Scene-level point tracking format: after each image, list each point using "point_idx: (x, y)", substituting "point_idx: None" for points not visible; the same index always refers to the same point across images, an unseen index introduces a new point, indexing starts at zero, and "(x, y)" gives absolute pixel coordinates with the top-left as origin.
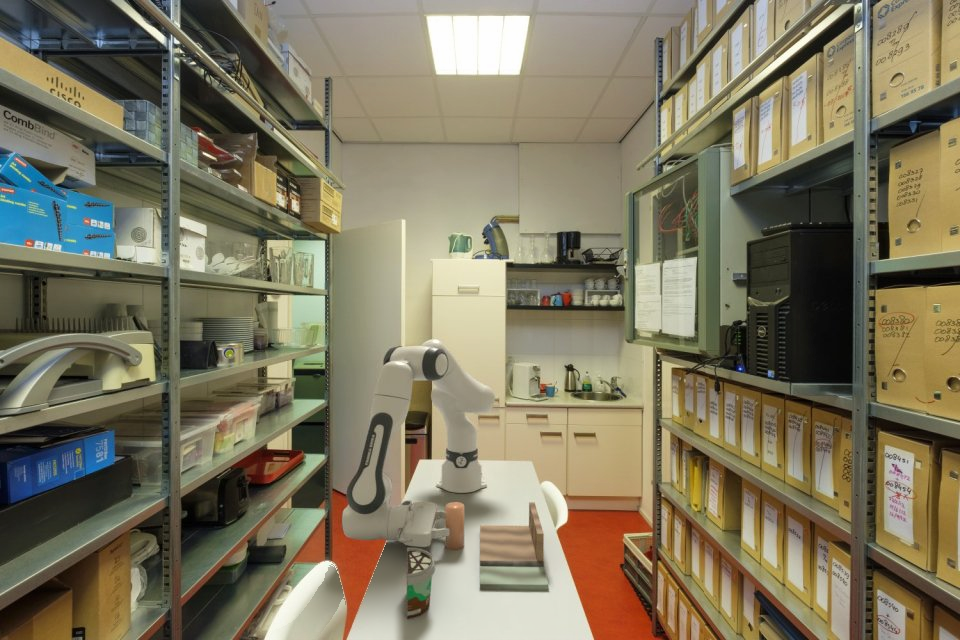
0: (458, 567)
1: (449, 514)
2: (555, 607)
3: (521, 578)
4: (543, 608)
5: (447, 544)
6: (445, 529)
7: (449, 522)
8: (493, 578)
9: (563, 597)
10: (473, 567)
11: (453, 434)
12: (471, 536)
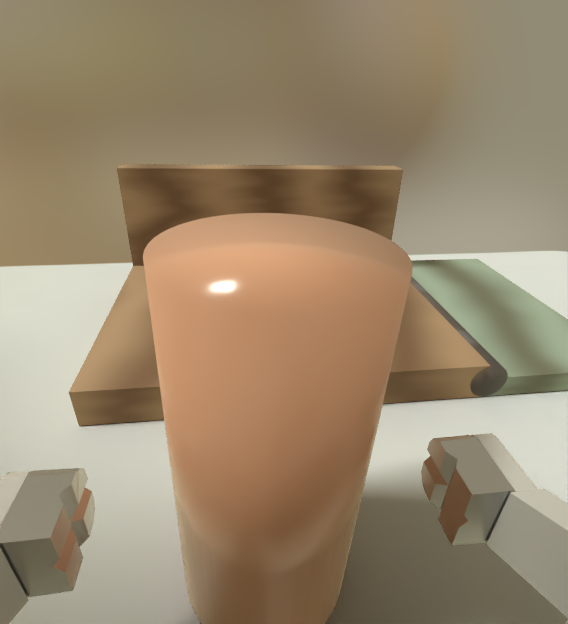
0: (544, 487)
1: (396, 342)
2: (534, 267)
3: (490, 290)
4: (559, 279)
5: (333, 601)
6: (515, 462)
7: (376, 425)
8: (558, 337)
9: (483, 258)
10: (488, 420)
11: None
12: (129, 465)
